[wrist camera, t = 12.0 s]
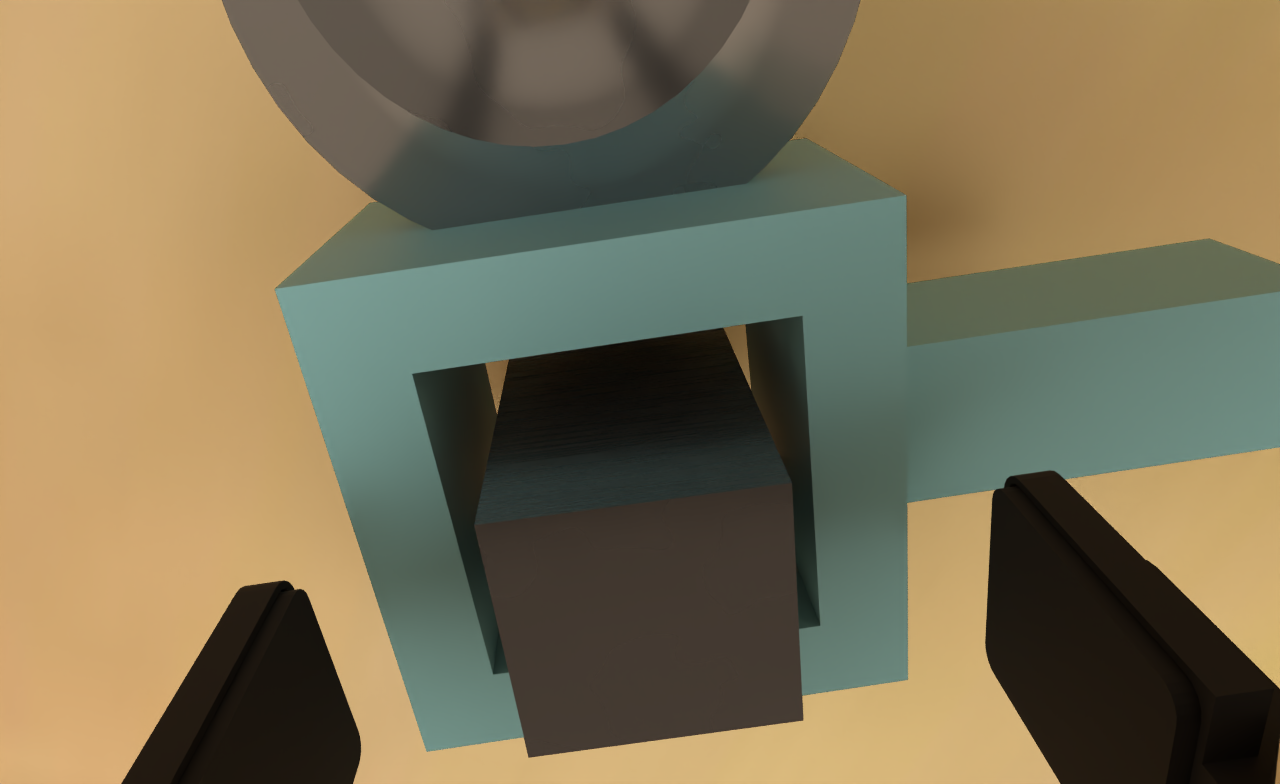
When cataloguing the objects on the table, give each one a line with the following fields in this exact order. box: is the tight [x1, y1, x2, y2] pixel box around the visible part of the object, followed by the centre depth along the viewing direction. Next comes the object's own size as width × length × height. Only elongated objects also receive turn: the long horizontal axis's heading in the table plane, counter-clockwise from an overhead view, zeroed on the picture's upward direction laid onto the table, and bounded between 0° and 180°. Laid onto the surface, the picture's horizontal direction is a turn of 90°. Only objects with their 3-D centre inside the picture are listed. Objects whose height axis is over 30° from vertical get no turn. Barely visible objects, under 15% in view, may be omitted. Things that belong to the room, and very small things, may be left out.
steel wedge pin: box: [474, 328, 803, 757], centre depth 20 cm, size 4×4×18 cm
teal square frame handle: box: [275, 138, 1280, 752], centre depth 17 cm, size 17×9×6 cm, turn 98°
